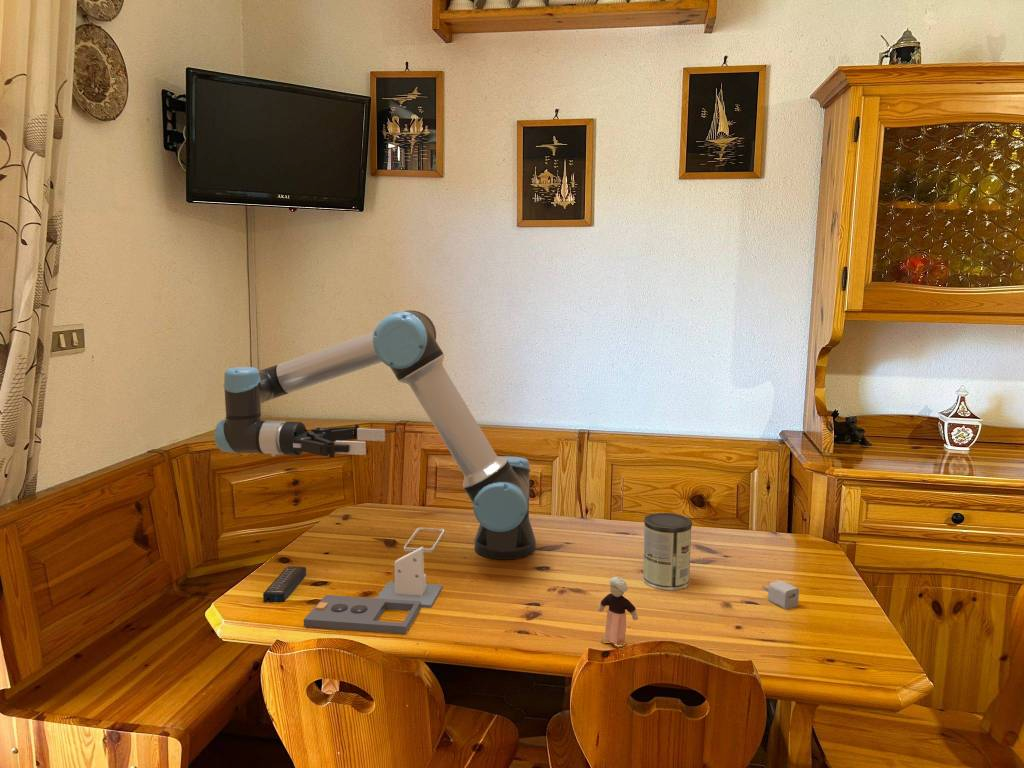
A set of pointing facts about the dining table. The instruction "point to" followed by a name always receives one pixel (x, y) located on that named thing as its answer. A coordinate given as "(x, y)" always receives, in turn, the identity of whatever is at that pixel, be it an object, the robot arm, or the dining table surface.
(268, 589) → the multiport hub
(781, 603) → the usb wall charger
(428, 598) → the rubber mat
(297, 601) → the dining table surface
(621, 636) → the grandmother figurine
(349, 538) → the dining table surface
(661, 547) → the coffee can
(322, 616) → the grey control panel
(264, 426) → the robot arm
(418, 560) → the white wedge bracket
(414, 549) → the phone case
